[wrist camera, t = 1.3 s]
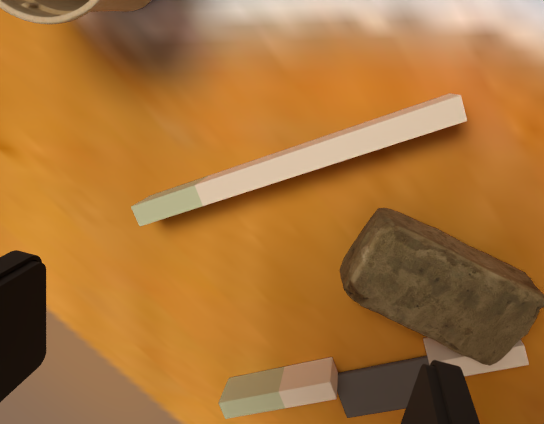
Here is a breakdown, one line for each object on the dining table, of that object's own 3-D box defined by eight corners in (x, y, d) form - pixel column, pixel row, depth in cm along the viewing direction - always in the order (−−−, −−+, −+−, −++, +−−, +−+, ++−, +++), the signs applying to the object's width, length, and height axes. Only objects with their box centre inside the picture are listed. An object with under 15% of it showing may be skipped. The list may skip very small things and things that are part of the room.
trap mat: (434, 354, 33) (435, 356, 33) (448, 398, 34) (449, 401, 33) (332, 374, 35) (331, 376, 35) (347, 415, 36) (347, 418, 36)
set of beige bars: (449, 93, 28) (460, 95, 25) (513, 338, 31) (529, 364, 29) (149, 195, 33) (131, 206, 30) (235, 392, 37) (225, 418, 34)
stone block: (372, 196, 29) (384, 219, 25) (525, 267, 30) (565, 303, 25) (333, 268, 31) (337, 302, 26) (478, 333, 32) (507, 379, 27)
